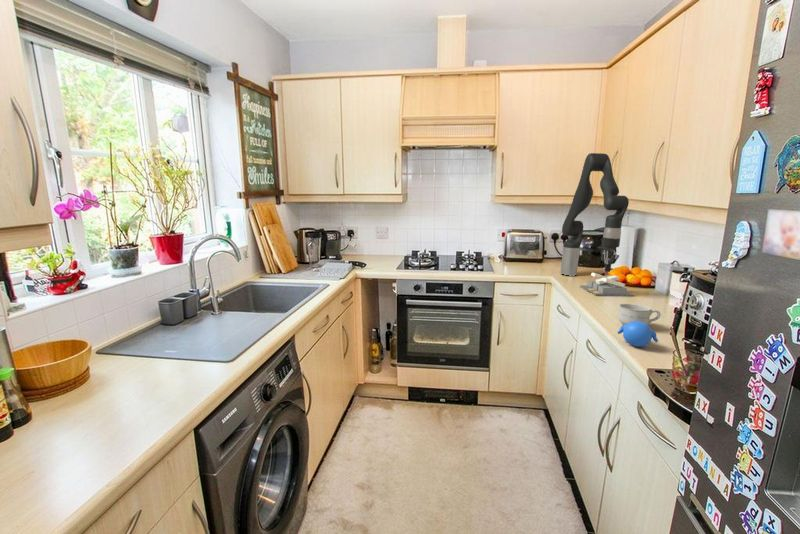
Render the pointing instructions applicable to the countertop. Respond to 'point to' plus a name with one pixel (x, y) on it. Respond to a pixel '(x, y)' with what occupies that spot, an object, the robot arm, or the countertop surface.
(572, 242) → the robot arm
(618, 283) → the rocker
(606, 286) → the switch unit
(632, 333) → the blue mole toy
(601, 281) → the rocker
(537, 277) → the countertop surface
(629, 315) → the teacup
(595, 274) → the rocker
